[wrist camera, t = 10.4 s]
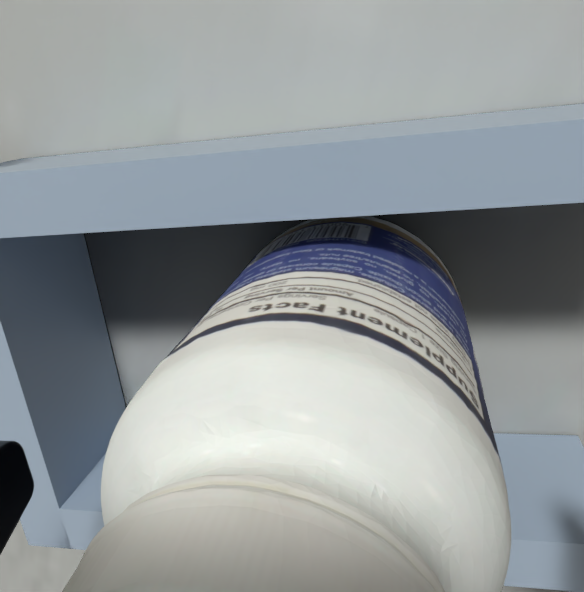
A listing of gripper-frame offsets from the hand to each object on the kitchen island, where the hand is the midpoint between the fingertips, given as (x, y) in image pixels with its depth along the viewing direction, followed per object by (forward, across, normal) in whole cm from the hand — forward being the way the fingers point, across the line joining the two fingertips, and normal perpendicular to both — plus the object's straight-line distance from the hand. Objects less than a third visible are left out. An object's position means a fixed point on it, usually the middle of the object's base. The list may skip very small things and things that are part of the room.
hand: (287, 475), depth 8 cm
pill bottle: (+6, 0, 0) cm, 6 cm away
